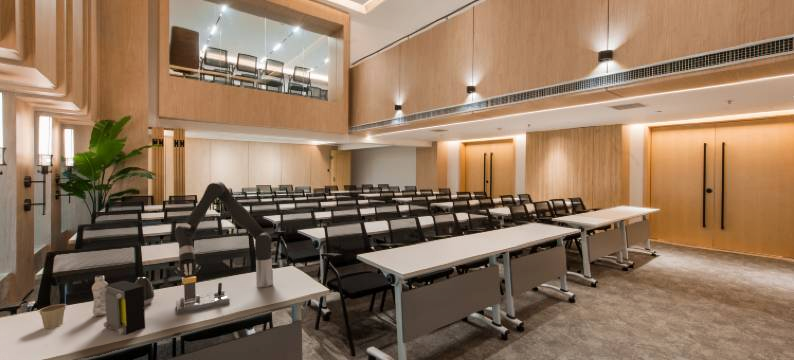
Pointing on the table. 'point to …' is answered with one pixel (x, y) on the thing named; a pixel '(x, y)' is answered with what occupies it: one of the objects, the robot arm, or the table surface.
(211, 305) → the grey lever switch
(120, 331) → the electrical component
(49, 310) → the flower pot
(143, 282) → the dark grey ridged ovoid
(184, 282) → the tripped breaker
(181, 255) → the robot arm
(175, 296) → the table surface
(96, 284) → the plastic bottle
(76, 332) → the table surface
